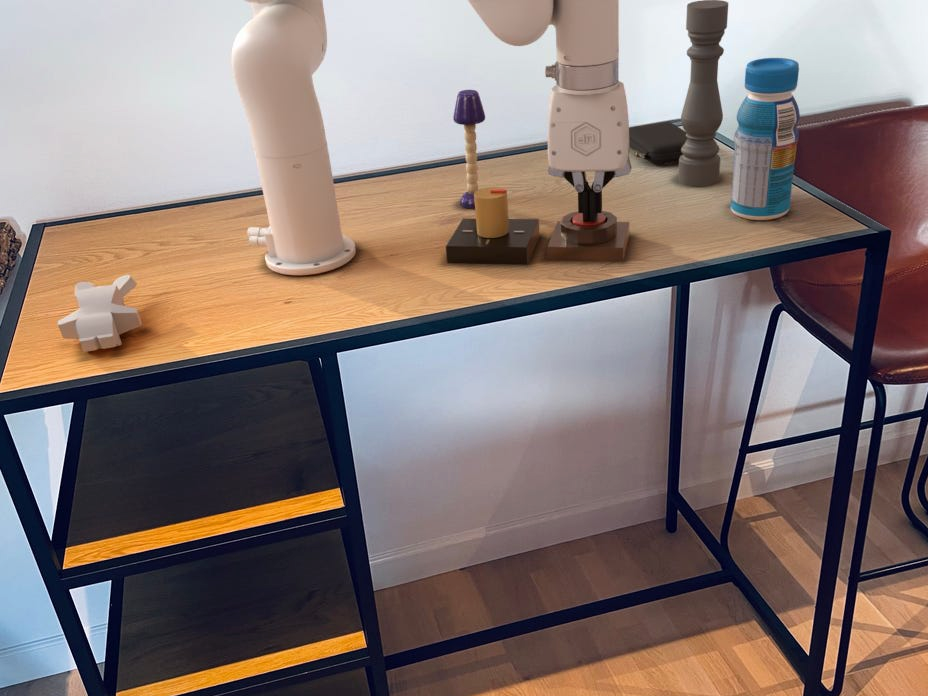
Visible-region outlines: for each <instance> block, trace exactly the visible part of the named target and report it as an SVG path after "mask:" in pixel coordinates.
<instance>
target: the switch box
mask: <svg viewBox="0 0 928 696" xmlns="http://www.w3.org/2000/svg"><path fill="white" fill-rule="evenodd" d="M577 214H580V213H578V210H577V211H572V212H570V213H568V214H566V215H564V216H563V217H562V219H561V221H560V220H558V221H556V224H555V227H554V229H553V231H552V233H551V237H550V239H549V242H548V244H547V245H546V246H547V247H546V252H547V261H548V262H595V263H596V262H601V263H604V262H605V263H623V262H624V259H625V254H626V250H627V246H628V242H629V239H630V221H618V217H617V216H616V215H615V214H613V213H612V212H610V211H605V210H602V212H601V213H600V214H603V215H604V216H605V223H604V224H602V225H600V226H595V227H580V226H576V225H573V224H572V219H573V217H574V216H575V215H577Z"/></svg>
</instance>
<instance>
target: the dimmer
mask: <svg viewBox="0 0 928 696" xmlns="http://www.w3.org/2000/svg"><path fill="white" fill-rule="evenodd" d="M540 236H541V235H540V219H539V218H509V233H508V234H506V235H504V236H502V237H497V238H484V237H481V236H479V235H478V234H477V224H476V218H469V217H467V218H466V217H465V218H464V217H463V218H462V219H461V220H460V222H459V223H458V226H457V227H456V228H455V230H454V232H453V233H452V235H451V236H450V239H449V240H448V242H447V244H446V245H445V252H446V263H447V264H452V265H453V264H455V265H458V264H460V265H463V264H464V265H506V266H507V265H512V266H514V265H515V266H527V265H528V263H529V261H530V260H531V257H532V254H533V252H534V250H535V248H536V245H537V243H538V240H539V238H540Z"/></svg>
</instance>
